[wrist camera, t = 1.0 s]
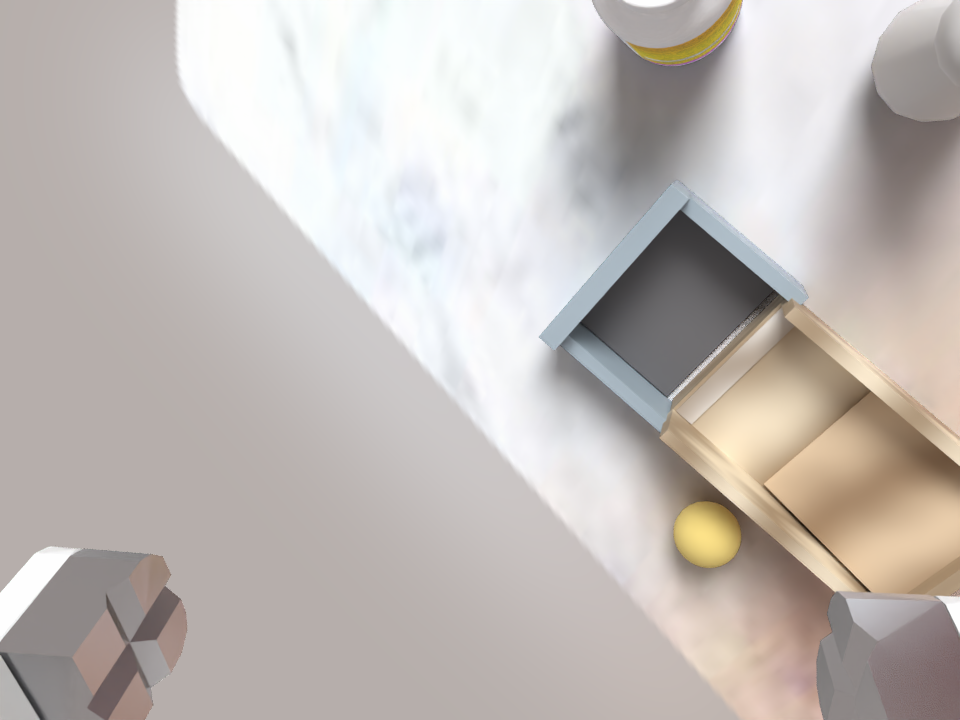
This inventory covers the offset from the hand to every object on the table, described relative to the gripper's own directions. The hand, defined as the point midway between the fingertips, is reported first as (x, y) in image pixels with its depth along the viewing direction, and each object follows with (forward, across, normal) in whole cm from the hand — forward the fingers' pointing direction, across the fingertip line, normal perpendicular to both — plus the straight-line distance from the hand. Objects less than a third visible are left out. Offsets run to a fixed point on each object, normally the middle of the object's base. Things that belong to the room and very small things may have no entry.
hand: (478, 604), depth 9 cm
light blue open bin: (+35, +6, -14) cm, 38 cm away
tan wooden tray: (+32, +15, -21) cm, 41 cm away
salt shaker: (+37, +18, -1) cm, 41 cm away
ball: (+29, +8, -27) cm, 40 cm away
